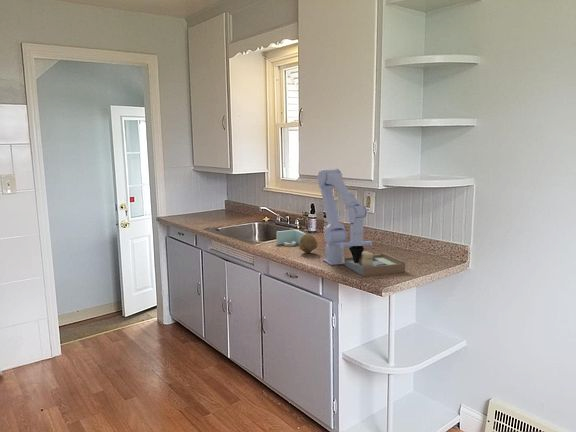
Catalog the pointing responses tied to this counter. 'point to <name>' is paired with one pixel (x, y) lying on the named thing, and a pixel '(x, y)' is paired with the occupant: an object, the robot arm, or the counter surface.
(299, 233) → the l-shaped corner panel
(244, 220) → the counter surface
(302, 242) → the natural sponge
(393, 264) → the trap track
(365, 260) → the wood block
